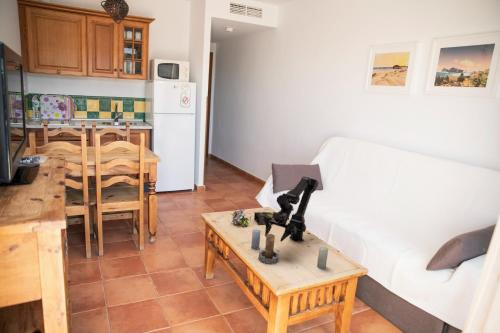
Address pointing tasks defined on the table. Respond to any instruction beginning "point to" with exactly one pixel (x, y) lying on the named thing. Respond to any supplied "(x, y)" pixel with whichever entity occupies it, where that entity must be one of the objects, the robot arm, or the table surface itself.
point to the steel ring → (268, 260)
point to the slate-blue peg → (255, 239)
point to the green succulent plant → (240, 217)
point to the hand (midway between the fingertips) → (273, 238)
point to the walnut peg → (269, 245)
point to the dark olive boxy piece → (262, 214)
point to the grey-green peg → (322, 257)
